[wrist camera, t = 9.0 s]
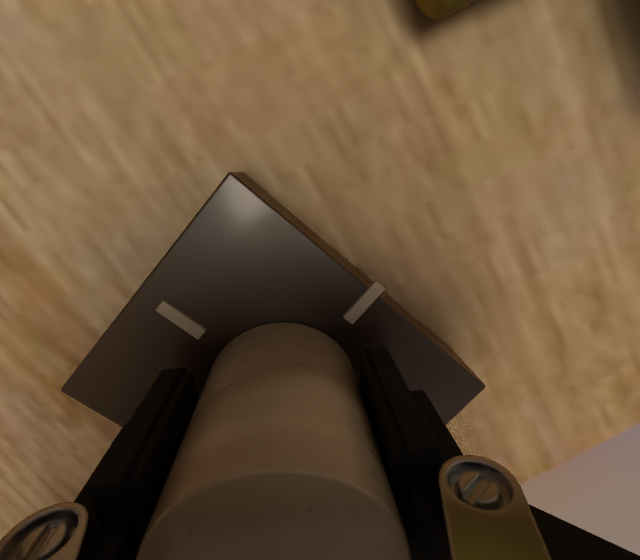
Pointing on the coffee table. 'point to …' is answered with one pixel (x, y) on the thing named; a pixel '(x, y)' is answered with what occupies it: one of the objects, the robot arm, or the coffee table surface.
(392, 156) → the coffee table surface
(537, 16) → the coffee table surface
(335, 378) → the knob
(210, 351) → the panel
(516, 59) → the coffee table surface
